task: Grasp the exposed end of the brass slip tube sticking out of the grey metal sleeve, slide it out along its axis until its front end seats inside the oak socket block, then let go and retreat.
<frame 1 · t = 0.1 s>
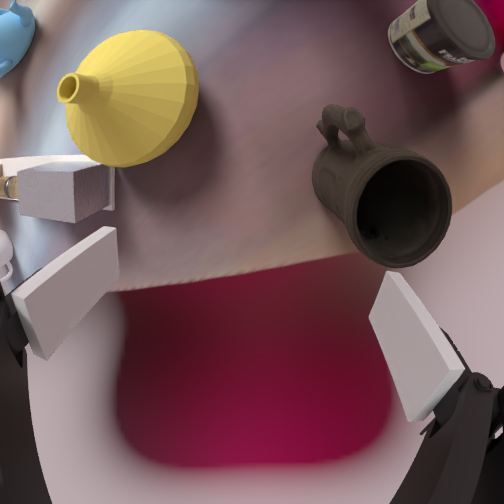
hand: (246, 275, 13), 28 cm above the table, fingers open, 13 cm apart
cup: (9, 250, 48), on the table
slip tube: (32, 188, 34), point 7 cm above the table, slide at 0.0 cm
beer stein: (338, 164, 37), on the table
teapot: (20, 41, 28), on the table
base rail: (36, 178, 40), on the table
vase: (151, 101, 35), on the table
sleeve: (80, 180, 40), resting on base rail
coffee can: (416, 44, 27), on the table
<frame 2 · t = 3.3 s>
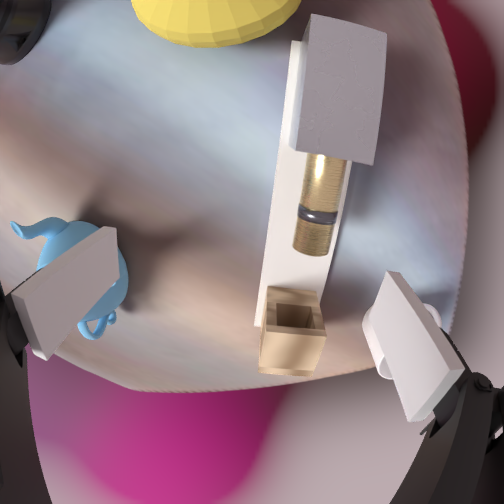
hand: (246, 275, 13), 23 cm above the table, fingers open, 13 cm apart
cup: (393, 310, 41), on the table
slip tube: (327, 154, 25), point 7 cm above the table, slide at 0.0 cm
teapot: (91, 256, 40), on the table
base rail: (308, 200, 34), on the table
socket block: (288, 302, 41), resting on base rail
vase: (227, 3, 24), on the table
sleeve: (322, 102, 29), resting on base rail
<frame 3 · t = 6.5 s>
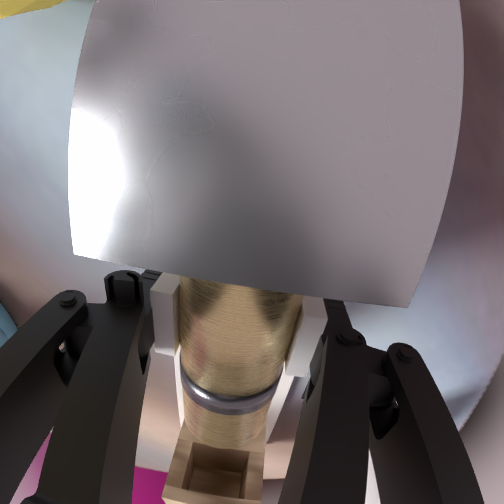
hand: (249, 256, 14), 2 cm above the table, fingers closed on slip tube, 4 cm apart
cup: (390, 424, 23), on the table
slip tube: (250, 224, 8), point 7 cm above the table, slide at 0.0 cm, touching gripper
base rail: (245, 289, 17), on the table
socket block: (226, 419, 23), resting on base rail
sleeve: (277, 76, 12), resting on base rail
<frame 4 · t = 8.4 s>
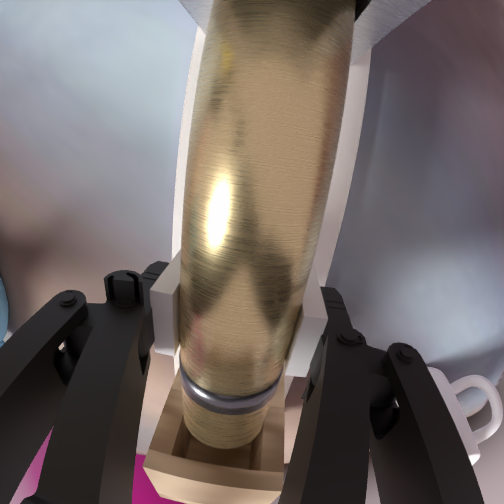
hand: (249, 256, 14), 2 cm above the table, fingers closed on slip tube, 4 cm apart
cup: (422, 383, 20), on the table
slip tube: (251, 224, 8), point 7 cm above the table, slide at 7.3 cm, touching gripper
base rail: (264, 169, 14), on the table
socket block: (232, 375, 20), resting on base rail
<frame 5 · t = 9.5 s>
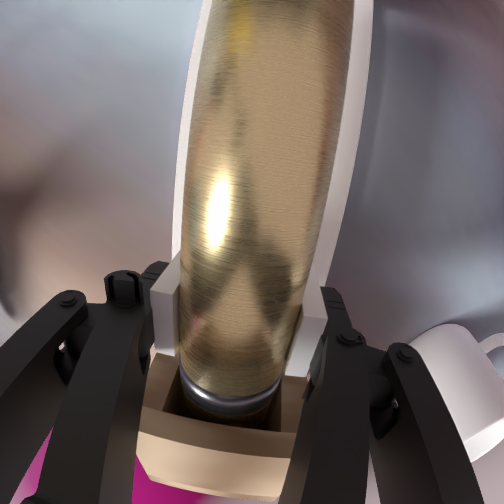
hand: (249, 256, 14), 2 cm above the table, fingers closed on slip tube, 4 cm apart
cup: (447, 346, 19), on the table
slip tube: (250, 224, 8), point 7 cm above the table, slide at 12.0 cm, touching gripper
base rail: (276, 84, 12), on the table
socket block: (239, 332, 19), resting on base rail
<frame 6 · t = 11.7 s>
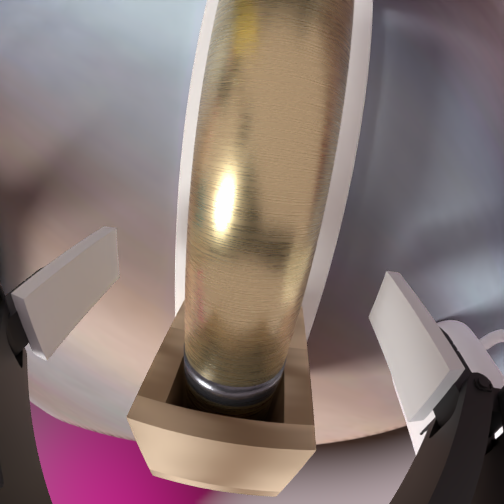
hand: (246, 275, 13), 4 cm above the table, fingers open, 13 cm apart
cup: (447, 343, 19), on the table
slip tube: (254, 215, 8), point 7 cm above the table, slide at 12.0 cm
base rail: (278, 83, 13), on the table
socket block: (241, 327, 19), resting on base rail
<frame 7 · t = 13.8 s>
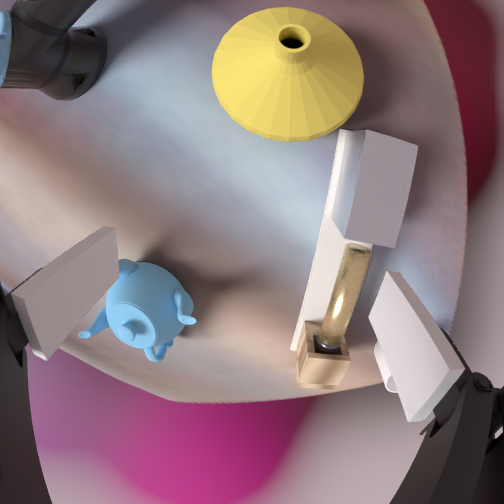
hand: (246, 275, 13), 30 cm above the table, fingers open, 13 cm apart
cup: (399, 339, 50), on the table
slip tube: (340, 310, 40), point 7 cm above the table, slide at 12.0 cm
teapot: (153, 290, 50), on the table
base rail: (341, 258, 44), on the table
socket block: (318, 332, 50), resting on base rail
vase: (286, 83, 35), on the table
sleeve: (358, 183, 39), resting on base rail
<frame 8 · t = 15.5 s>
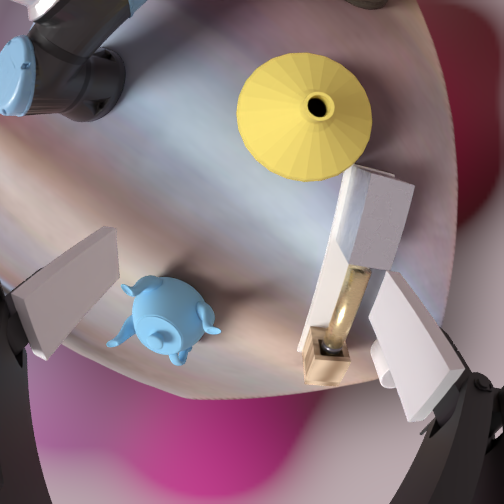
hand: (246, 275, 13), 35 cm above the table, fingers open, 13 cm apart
cup: (392, 341, 57), on the table
slip tube: (342, 319, 46), point 7 cm above the table, slide at 12.0 cm
teapot: (174, 301, 56), on the table
base rail: (343, 273, 50), on the table
socket block: (322, 336, 57), resting on base rail
vase: (300, 119, 40), on the table
sleeve: (360, 209, 45), resting on base rail
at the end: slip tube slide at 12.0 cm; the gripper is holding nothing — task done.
